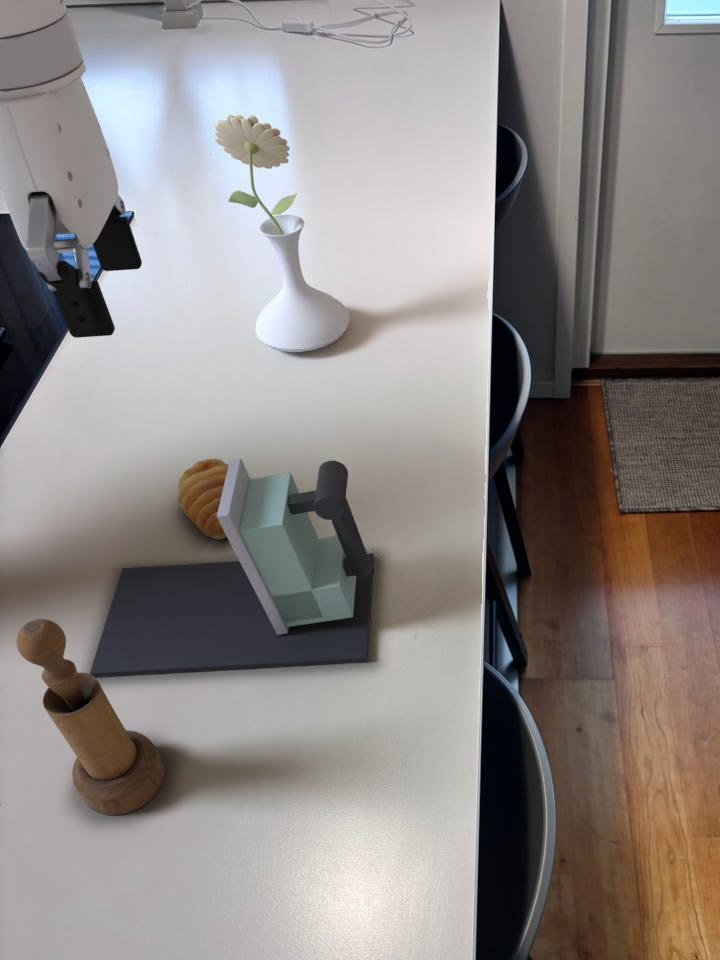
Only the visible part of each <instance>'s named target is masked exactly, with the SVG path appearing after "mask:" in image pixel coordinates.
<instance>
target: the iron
mask: <svg viewBox="0 0 720 960" xmlns="http://www.w3.org/2000/svg"><path fill="white" fill-rule="evenodd" d="M228 465H229V466H228V470H227V475H226V479H225V483H224V488H223V492H222V496H221V501H220V505H219V509H218V514H217V518H218V520H219V522H220V524H221V526H222V528H223V530H224V532H225V534H226V535H227V537H226V538H227V539H228V541H229V543H230V545H231V547H232V549H233V551H234V553H235V555H236V557H237V559H238V561H240V563H241V565H242V567H243V569H244V571H245V573H246V575H247V576H248V578H249V580H250V582H251V584H252V586H253V588H254V590H255V592H256V594H257V596H258V598H259V600H260V602H261V604H262V606H263V608H264V610H265V612H266V614H267V615H268V617H269V619H270V621H271V623H272V625H273V627H274V629H275V631H276V633H277V635H280V634H287V633H288V629H289V627H290V626H297V625H304V624H311V623H317V622H324V621H331V620H338V619H344V618H351V617H353V610H354V598H355V586H356V577H358V578H364V577H367V576H368V575H369V574H370V572H371V570H372V566H371V563H370V560H369V557H368V554H369V553H368V551H367V549H366V546H365V544H364V541H363V538H362V536H361V534H360V531H359V528H358V525H357V522H356V520H355V517H354V514H353V511H352V509H351V507H350V503H349V501H348V499H347V489H348V481H349V470H348V468H347V467H346V465H345V464H343V463H342V462H340V461H337V460H327V461H325V462H323V463H322V464H320V465H319V467H318V472H317V477H316V478H317V479H316V486H315V490H309V491H304V492H303V491H302V492H300V491H299V489H298V486H297V483H296V481H295V479H294V477H293V474H292V472H286V473H279V474H273V475H267V476H261V477H255V478H251V477H250V475H249V473H248V471H247V468H246V467H245V464H244V462H243V460H242V458H241V457H240V458H234V459H230V460H229V462H228ZM311 512H312V513H313V512H314V513H315V514H316V515H317V516H318V517H319V518H321V519H323V520H326V521H331V523H332V526H333V528H334V531H335V533H336V535H332V536H325V537H319V536H318V534H317V532H316V529H315V527H314V524H313V522H312V520H311V518H310V515H309V513H311Z"/></svg>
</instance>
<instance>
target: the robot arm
mask: <svg viewBox="0 0 720 960" xmlns="http://www.w3.org/2000/svg"><path fill="white" fill-rule="evenodd" d="M86 68H87V66H86V63H85V61H84V58H83V55H82V52H81V47H80V45H79V41H78V40H77V36H76V33H75V30H74V27H73V24H72V21H71V18H70V15H69V12H68V9H67V5H66V1H65V0H0V191H1V194H2V197H3V200H4V203H5V205H6V208H7V211H8V214H9V216H10V218H11V221H12V223H13V226H14V229H15V231H16V234H17V236H18V239H19V242H20V243H21V245H22V247H23V249H24V250H25V251H26V253H27V256H28V258H29V260H30V261H31V263H32V264H33V265H34V267H35V268H36V269H37V270H38V275H39V277H40V278H41V280H42V281H44V282H45V284H46V287H47V289H48V290H49V291H50V292H52V293H53V296H54V298H55V301H56V303H57V306H58V308H59V311H60V313H61V315H62V318H63V321H64V323H65V324H66V328H67V330H68V332H69V335H70V336H71V337H72V338H75V339H76V338H77V339H80V338H93V337H108V336H110V337H111V336H112V335H113V334H114V333H115V331H116V326H115V324H114V321H113V318H112V316H111V313H110V310H109V308H108V304H107V301H106V300H105V297H104V294H103V291H102V288H101V286H100V283H99V281H98V280H92V273H91V263H90V257H89V255H90V254H89V248H90V247H91V246H93V249H94V252H95V255H96V257H97V261H98V263H99V266H100V268H101V270H103V272H114V271H116V272H117V271H131V270H140V268H141V267H142V264H143V261H142V258H141V254H140V251H139V248H138V245H137V242H136V239H135V237H134V234H133V230H132V227H131V224H130V222H129V218H128V216H125V215H126V205H125V202H124V200H123V198H122V197H121V196H120V195H119V182H118V178H117V174H116V171H115V167H114V164H113V160H112V156H111V154H110V151H109V148H108V144H107V141H106V139H105V136H104V133H103V130H102V128H101V125H100V121H99V119H98V117H97V115H96V114H97V113H96V112H95V109H94V106H93V104H92V101H91V99H90V96H89V94H88V91H87V88H86V86H85V84H84V82H83V79H82V76H83V75H84V74H85V72H86V71H87V69H86ZM73 234H74V238H66V239H65V238H64V239H55V238H56V237H55V236H58V235H73ZM65 253H66V254H67V253H74V264H75V266H73V264H70V263H69V262H67V260H61V259H60V255H59V254H65Z"/></svg>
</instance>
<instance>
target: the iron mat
mask: <svg viewBox="0 0 720 960" xmlns="http://www.w3.org/2000/svg"><path fill="white" fill-rule="evenodd" d="M367 554H368V557H369V560H370V563H371V566H372V570H371V572H370V574H369V575H368V576H367V577H364V578H358V577H356V586H355V598H354V610H353V617H351V618H344V619H338V620H331V621H324V622H317V623H311V624H304V625H297V626H290V627H289V629H288V633H287V634H280V635H277V633H276V631H275V629H274V627H273V625H272V623H271V621H270V619H269V617H268V615H267V614H266V612H265V610H264V608H263V606H262V604H261V602H260V600H259V598H258V596H257V594H256V592H255V590H254V588H253V586H252V584H251V582H250V580H249V578H248V576H247V575H246V573H245V571H244V569H243V567H242V565H241V563H240V561H239V560H238V561H237V560H236V561H220V562H203V563H187V564H169V565H167V564H166V565H154V566H136V567H135V566H134V567H122V568H121V571H120V574H119V578H118V581H117V584H116V588H115V589H114V590H115V591H114V594H113V597H112V600H111V603H110V607H109V610H108V613H107V617H106V619H105V623H104V626H103V629H102V632H101V635H100V639H99V642H98V645H97V648H96V652H95V655H94V658H93V662H92V665H91V667H90V671H89V674H91V675H93V676H94V677H95V678H105V677H106V678H107V677H120V676H121V677H122V676H139V675H142V676H143V675H159V674H175V673H191V672H192V673H194V672H210V671H211V672H212V671H213V672H214V671H228V670H243V669H244V670H246V669H247V670H248V669H249V670H250V669H263V668H282V667H300V666H317V665H318V666H319V665H335V664H354V663H367V662H369V661H368V660H369V647H370V646H369V645H370V631H371V616H372V615H371V614H372V599H373V588H374V570H375V569H374V568H375V554H374V553H373V552H372V553H370V552H369V553H367Z"/></svg>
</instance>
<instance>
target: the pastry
mask: <svg viewBox="0 0 720 960" xmlns="http://www.w3.org/2000/svg"><path fill="white" fill-rule="evenodd" d="M228 466H229V463H226V462H224V461H223V460H222V459H218V458H207V459H202V460H200V461H197V462H195V463H194V464H192V466H191V467H189V468H187V469H185V470H184V472H183V473H182V475H181V476H180V478H179V482H178V484H177V485H178V486H177V489H178V497H177V498H178V501H177V502H178V505H179V506H180V507H181V508H182V510H183V512H184V514H185V515H186V517H187V518H188V519H189V520H190V521H191V522H192V523H193V524H194V525H195V527H197V528H198V529H199V530H200V531H201V532H202V533H203V534H204V535H205V536H206V537H210V538H212V539H214V540H222V539H224V538H228V537H227V535H226V534H225V532H224V530H223V528H222V526H221V524H220V522H219V520H218V518H217V514H218V509H219V505H220V501H221V496H222V492H223V488H224V483H225V479H226V475H227V470H228Z"/></svg>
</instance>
